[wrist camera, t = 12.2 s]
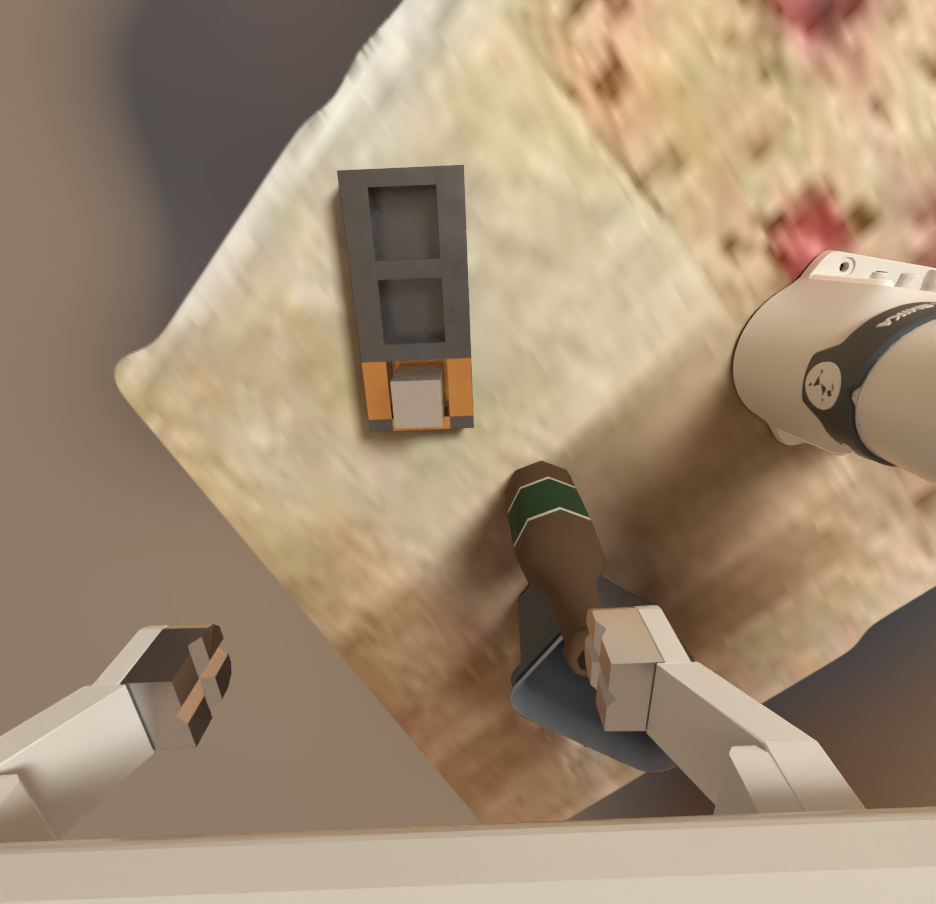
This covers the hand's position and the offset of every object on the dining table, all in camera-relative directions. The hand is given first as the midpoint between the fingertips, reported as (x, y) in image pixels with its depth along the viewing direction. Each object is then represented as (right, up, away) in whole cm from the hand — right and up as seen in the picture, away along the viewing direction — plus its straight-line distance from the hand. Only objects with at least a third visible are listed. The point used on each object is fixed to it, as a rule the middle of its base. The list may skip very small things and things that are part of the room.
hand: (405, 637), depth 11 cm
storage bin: (+16, -15, +49) cm, 54 cm away
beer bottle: (+9, 0, +43) cm, 44 cm away
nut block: (-3, +11, +37) cm, 39 cm away
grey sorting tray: (-4, +18, +35) cm, 39 cm away
